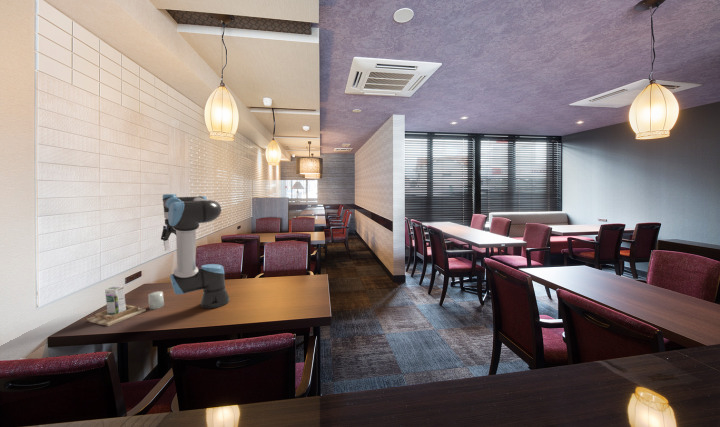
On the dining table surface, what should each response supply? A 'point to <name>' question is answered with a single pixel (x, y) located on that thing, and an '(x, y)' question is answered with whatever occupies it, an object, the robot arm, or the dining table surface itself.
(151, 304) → the white rounded cylinder
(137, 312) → the wooden square frame
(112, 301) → the syrup box
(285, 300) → the dining table surface
